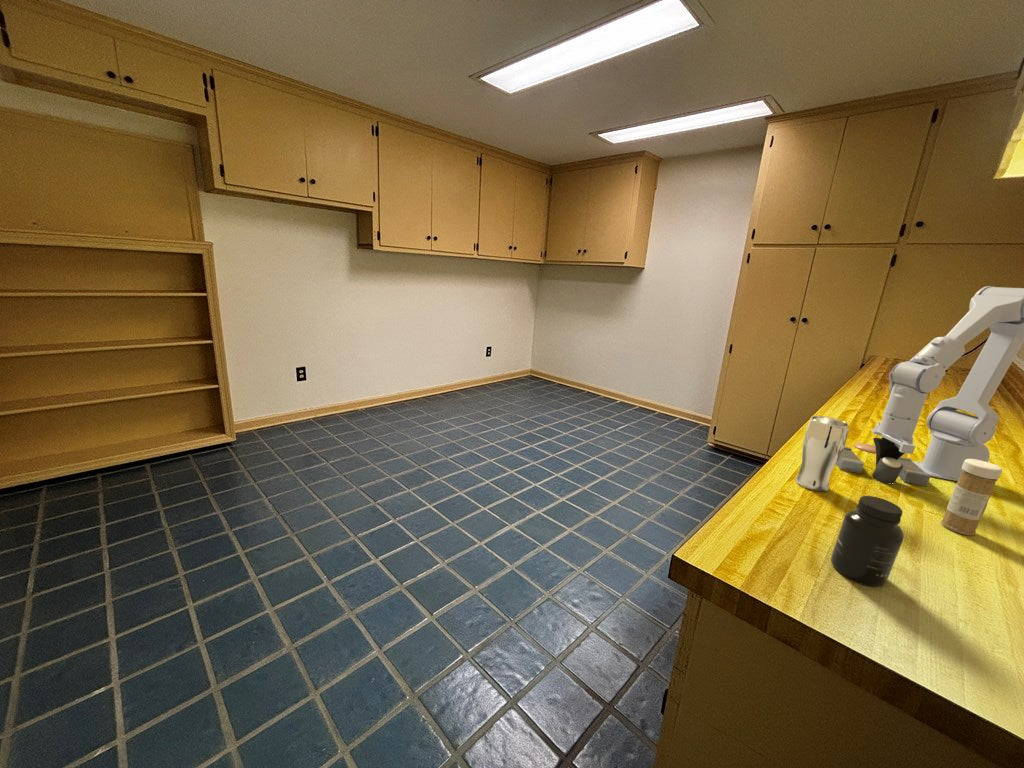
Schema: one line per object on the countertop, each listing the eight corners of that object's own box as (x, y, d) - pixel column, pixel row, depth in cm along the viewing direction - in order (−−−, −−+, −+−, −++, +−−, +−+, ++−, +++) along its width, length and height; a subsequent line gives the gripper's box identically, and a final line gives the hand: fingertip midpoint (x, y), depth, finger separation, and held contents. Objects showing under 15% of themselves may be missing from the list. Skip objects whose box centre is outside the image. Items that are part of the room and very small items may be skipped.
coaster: (877, 446, 113) (877, 445, 113) (886, 455, 108) (886, 453, 108) (850, 442, 116) (851, 441, 115) (858, 450, 110) (858, 448, 110)
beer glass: (826, 482, 91) (845, 419, 87) (834, 496, 85) (855, 429, 81) (789, 474, 94) (806, 412, 90) (795, 487, 88) (813, 422, 84)
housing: (906, 468, 101) (909, 458, 100) (926, 486, 92) (930, 475, 91) (828, 453, 107) (831, 443, 106) (840, 469, 98) (843, 459, 97)
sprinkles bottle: (977, 531, 76) (1005, 466, 72) (971, 539, 73) (1000, 471, 69) (942, 518, 79) (968, 455, 76) (936, 525, 77) (962, 460, 73)
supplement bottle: (818, 556, 66) (839, 491, 63) (857, 556, 67) (879, 491, 63) (856, 589, 59) (881, 517, 56) (899, 588, 60) (926, 517, 57)
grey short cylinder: (891, 475, 95) (900, 458, 92) (897, 486, 92) (906, 469, 89) (870, 471, 96) (878, 454, 94) (875, 482, 93) (883, 465, 91)
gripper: (867, 403, 99) (850, 454, 103) (892, 421, 86) (872, 479, 90) (903, 408, 97) (885, 460, 100) (935, 428, 84) (913, 487, 88)
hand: (881, 470), depth 95 cm, fingers closed, pressing on grey short cylinder
